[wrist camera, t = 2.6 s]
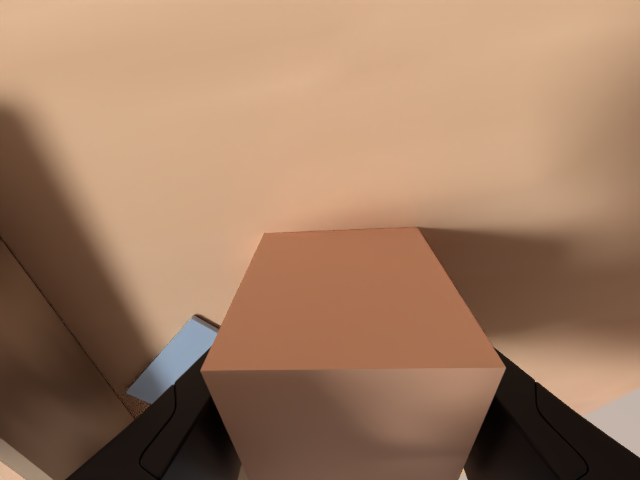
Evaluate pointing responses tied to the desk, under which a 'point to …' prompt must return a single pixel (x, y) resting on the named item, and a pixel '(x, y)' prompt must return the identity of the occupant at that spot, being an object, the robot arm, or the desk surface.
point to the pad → (174, 360)
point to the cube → (351, 361)
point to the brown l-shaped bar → (48, 387)
